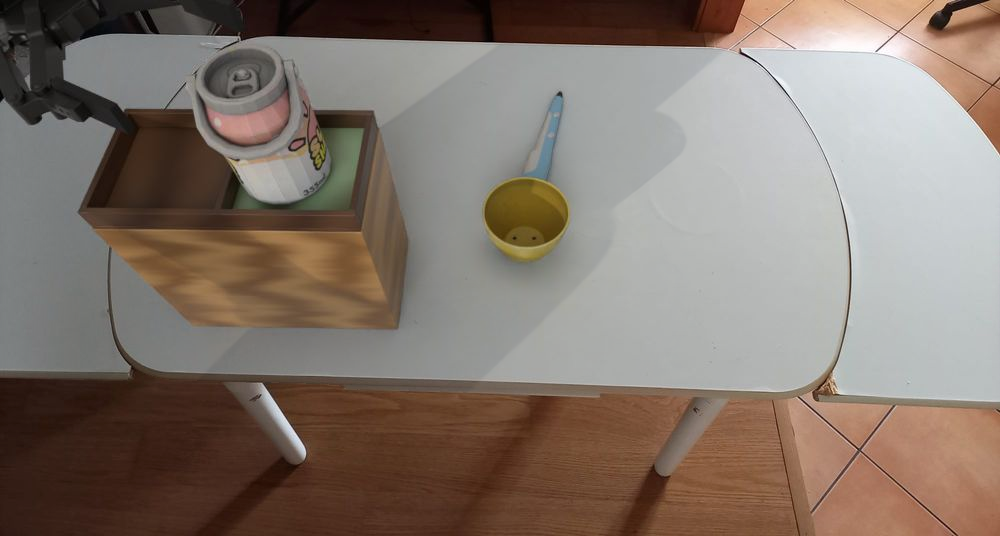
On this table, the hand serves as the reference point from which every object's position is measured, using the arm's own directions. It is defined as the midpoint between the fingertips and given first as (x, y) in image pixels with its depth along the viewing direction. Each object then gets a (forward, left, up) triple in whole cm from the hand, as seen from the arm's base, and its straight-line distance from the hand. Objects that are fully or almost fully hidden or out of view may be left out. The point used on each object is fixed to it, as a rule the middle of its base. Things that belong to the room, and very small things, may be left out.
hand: (183, 65), depth 51 cm
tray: (0, -4, -10) cm, 11 cm away
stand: (0, -4, -30) cm, 30 cm away
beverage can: (+4, -7, -9) cm, 12 cm away
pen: (+36, +1, -30) cm, 47 cm away
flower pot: (+26, -12, -30) cm, 41 cm away
